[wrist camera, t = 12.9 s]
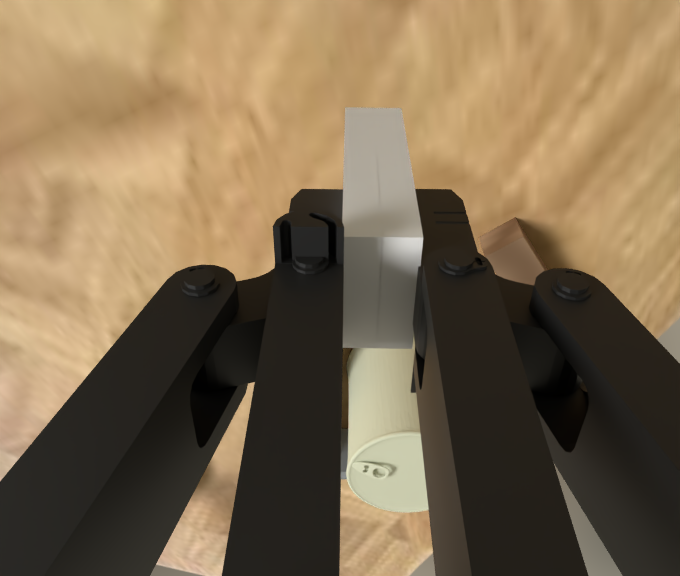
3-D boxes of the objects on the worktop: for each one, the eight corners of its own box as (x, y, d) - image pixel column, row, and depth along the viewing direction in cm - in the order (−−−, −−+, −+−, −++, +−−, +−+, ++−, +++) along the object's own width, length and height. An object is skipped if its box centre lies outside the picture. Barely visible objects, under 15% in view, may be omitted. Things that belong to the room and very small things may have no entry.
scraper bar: (573, 377, 56) (583, 402, 54) (478, 234, 48) (484, 256, 45) (606, 363, 55) (617, 388, 53) (514, 215, 47) (523, 236, 44)
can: (363, 315, 52) (366, 427, 43) (468, 339, 54) (494, 453, 44) (334, 392, 57) (331, 507, 48) (430, 411, 59) (446, 527, 49)
